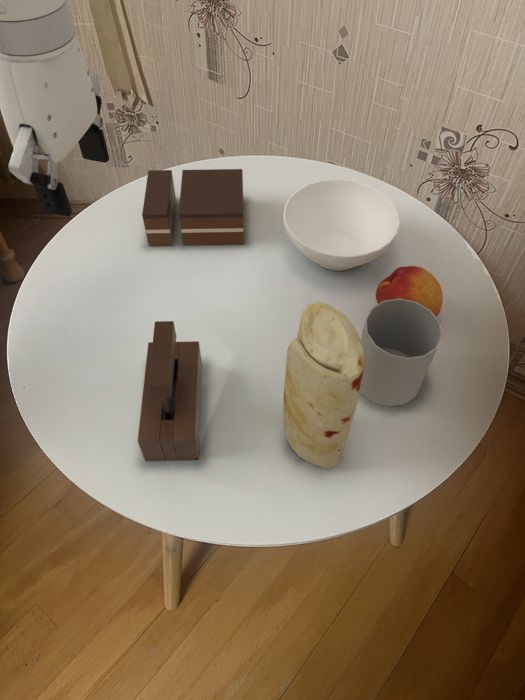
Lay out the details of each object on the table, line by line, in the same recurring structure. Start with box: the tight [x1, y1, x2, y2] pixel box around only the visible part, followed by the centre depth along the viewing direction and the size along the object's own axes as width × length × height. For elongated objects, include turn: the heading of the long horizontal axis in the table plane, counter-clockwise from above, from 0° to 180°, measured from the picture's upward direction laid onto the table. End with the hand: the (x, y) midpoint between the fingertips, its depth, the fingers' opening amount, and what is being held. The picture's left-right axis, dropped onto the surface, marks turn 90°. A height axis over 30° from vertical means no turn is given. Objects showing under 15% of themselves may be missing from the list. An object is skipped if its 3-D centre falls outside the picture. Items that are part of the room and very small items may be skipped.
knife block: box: [137, 340, 203, 462], centre depth 65 cm, size 6×13×5 cm, turn 2°
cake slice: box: [141, 169, 177, 247], centre depth 84 cm, size 4×10×6 cm, turn 2°
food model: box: [282, 301, 364, 469], centre depth 57 cm, size 10×7×20 cm
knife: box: [148, 320, 177, 420], centre depth 63 cm, size 2×8×12 cm, turn 2°
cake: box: [178, 168, 245, 246], centre depth 84 cm, size 9×10×6 cm
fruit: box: [375, 265, 444, 318], centre depth 73 cm, size 8×8×8 cm
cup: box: [359, 299, 443, 408], centre depth 66 cm, size 8×8×10 cm
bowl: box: [283, 178, 401, 272], centre depth 80 cm, size 16×16×7 cm
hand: (78, 185), depth 64 cm, fingers open, 9 cm apart
